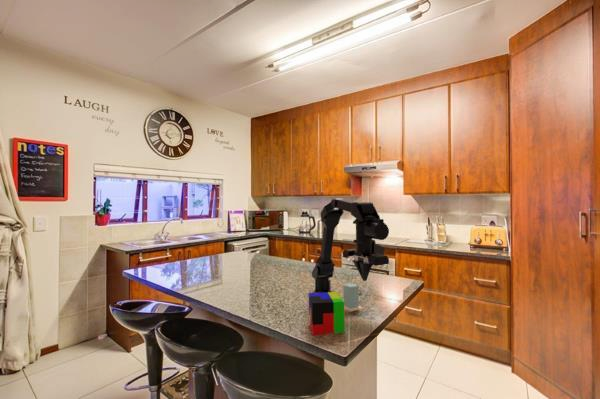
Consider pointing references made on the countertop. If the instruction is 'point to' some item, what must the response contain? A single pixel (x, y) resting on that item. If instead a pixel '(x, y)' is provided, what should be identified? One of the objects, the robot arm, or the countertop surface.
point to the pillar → (351, 297)
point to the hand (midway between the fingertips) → (364, 280)
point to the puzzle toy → (326, 313)
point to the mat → (352, 311)
